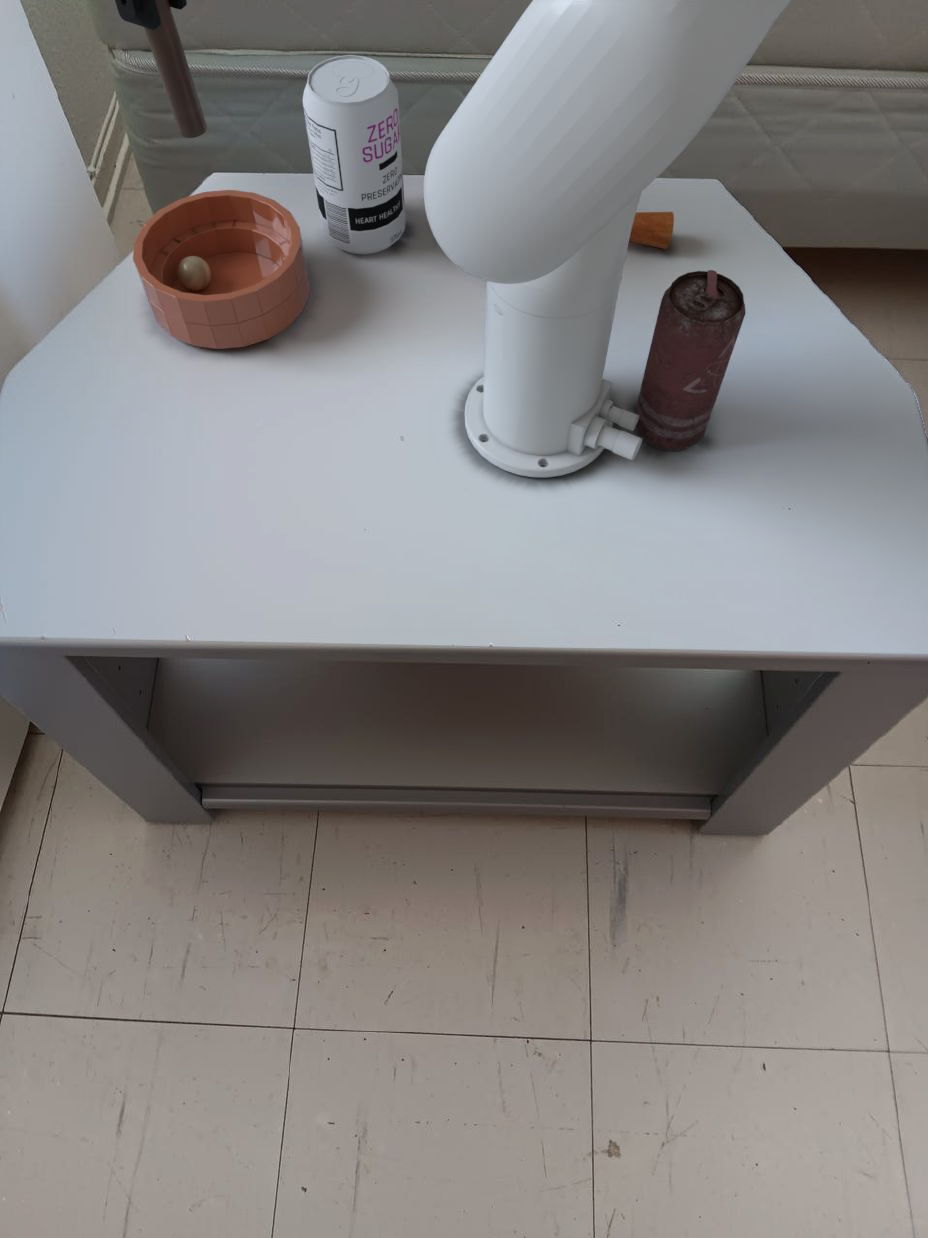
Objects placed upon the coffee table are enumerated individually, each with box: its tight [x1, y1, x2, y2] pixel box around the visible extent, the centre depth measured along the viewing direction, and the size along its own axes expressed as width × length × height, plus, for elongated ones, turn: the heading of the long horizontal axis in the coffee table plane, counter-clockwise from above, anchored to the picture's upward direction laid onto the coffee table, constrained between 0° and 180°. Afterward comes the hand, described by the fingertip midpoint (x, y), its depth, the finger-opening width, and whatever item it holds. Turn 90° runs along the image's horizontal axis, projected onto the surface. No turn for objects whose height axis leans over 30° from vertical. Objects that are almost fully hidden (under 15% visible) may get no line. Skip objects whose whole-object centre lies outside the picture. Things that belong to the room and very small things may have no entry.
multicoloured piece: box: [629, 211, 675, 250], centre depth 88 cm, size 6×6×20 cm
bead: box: [177, 256, 211, 290], centre depth 85 cm, size 3×3×3 cm
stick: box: [143, 0, 208, 139], centre depth 65 cm, size 2×2×14 cm
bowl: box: [132, 189, 310, 350], centre depth 83 cm, size 15×15×6 cm
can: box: [634, 269, 747, 452], centre depth 72 cm, size 6×6×14 cm
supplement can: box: [302, 54, 407, 255], centre depth 84 cm, size 8×8×15 cm
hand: (153, 10), depth 64 cm, fingers closed on stick, 2 cm apart
